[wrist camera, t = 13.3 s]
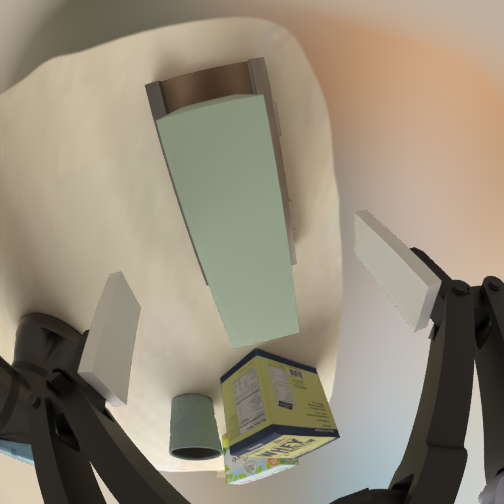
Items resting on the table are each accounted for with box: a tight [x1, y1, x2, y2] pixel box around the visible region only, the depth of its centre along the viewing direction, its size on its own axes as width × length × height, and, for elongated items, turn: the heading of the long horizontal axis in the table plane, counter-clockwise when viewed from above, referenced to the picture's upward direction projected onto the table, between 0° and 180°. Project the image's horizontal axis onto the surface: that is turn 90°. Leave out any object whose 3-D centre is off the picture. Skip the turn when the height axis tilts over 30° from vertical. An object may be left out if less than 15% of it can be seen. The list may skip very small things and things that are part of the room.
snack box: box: [222, 434, 299, 484], centre depth 55 cm, size 21×6×15 cm, turn 144°
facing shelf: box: [145, 57, 297, 285], centre depth 27 cm, size 11×22×3 cm, turn 11°
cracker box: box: [156, 94, 299, 349], centre depth 22 cm, size 16×5×14 cm, turn 11°
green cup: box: [169, 394, 223, 460], centre depth 46 cm, size 10×10×12 cm
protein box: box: [220, 349, 340, 458], centre depth 42 cm, size 10×16×16 cm
